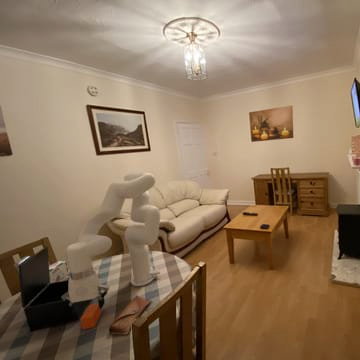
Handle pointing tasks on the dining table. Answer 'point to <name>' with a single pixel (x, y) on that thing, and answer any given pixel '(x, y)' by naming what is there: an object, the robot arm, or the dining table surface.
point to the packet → (91, 316)
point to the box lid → (33, 275)
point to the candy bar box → (58, 272)
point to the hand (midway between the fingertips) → (89, 309)
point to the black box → (52, 308)
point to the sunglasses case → (129, 316)
